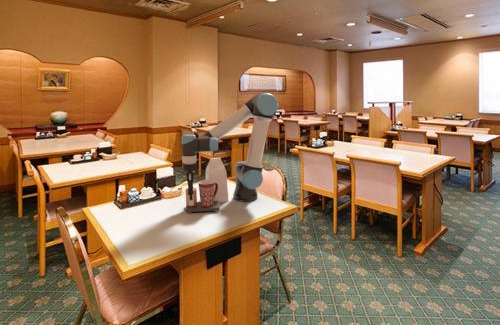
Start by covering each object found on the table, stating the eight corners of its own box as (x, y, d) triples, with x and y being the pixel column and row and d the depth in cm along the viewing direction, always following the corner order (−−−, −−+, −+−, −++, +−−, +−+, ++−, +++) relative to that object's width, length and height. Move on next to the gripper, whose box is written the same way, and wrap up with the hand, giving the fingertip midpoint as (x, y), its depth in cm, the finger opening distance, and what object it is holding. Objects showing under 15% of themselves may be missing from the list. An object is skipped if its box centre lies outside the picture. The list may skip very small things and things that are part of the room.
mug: (206, 208, 176) (205, 185, 174) (195, 205, 182) (194, 182, 180) (223, 203, 185) (222, 180, 182) (213, 200, 191) (212, 177, 189)
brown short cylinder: (196, 202, 185) (196, 187, 183) (197, 206, 179) (196, 190, 177) (186, 203, 184) (185, 188, 182) (186, 206, 178) (185, 191, 176)
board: (217, 204, 190) (217, 200, 190) (219, 211, 179) (219, 207, 178) (186, 206, 187) (186, 202, 187) (186, 213, 176) (185, 209, 175)
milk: (223, 195, 207) (222, 155, 202) (228, 201, 196) (227, 159, 191) (205, 197, 203) (203, 157, 198) (208, 203, 193) (207, 160, 187)
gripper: (183, 159, 185) (185, 198, 190) (181, 166, 167) (183, 209, 171) (196, 159, 186) (198, 197, 191) (196, 166, 168) (198, 208, 173)
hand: (191, 203), depth 181 cm, fingers closed on brown short cylinder, 6 cm apart
